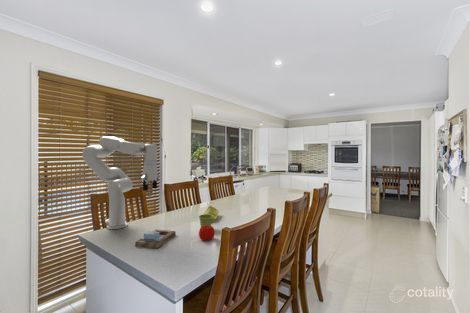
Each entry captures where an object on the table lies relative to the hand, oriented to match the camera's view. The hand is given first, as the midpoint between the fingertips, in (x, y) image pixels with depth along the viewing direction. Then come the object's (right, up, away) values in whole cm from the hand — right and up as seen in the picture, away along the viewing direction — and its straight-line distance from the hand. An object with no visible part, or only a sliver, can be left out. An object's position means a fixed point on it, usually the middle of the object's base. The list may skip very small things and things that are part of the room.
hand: (150, 189), depth 152 cm
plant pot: (+36, -26, 0) cm, 45 cm away
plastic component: (+37, -26, +25) cm, 51 cm away
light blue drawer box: (+9, -26, -23) cm, 36 cm away
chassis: (+10, -27, -18) cm, 34 cm away
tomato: (+38, -27, -16) cm, 50 cm away
